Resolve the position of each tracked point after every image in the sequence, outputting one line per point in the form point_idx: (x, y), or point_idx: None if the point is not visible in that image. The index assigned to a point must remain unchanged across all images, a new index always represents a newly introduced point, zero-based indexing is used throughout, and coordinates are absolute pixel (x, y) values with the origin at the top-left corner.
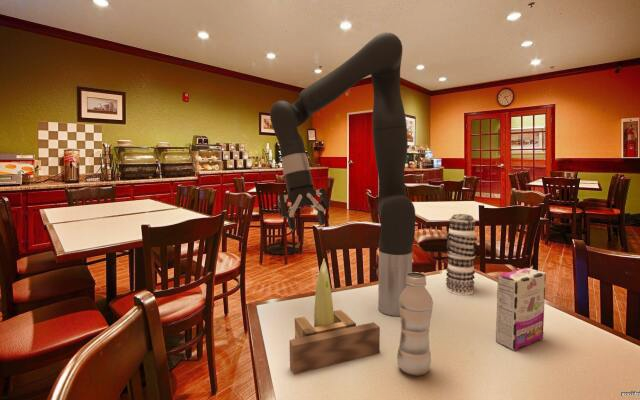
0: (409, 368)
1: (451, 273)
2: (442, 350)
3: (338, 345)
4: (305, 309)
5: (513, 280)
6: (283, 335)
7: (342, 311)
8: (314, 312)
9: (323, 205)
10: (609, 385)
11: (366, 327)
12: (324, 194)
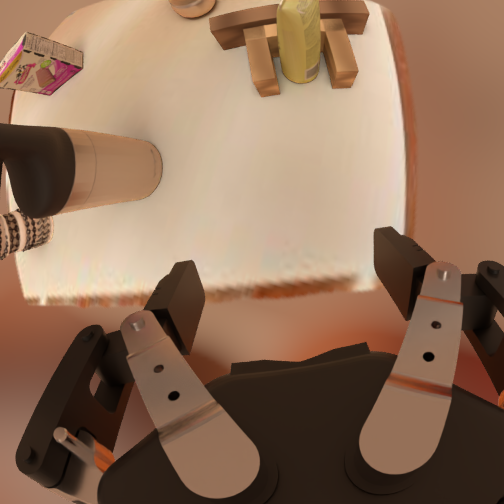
0: None
1: (29, 224)
2: (141, 44)
3: None
4: (307, 214)
5: (25, 34)
6: (368, 117)
7: (252, 73)
8: (320, 41)
9: (111, 360)
10: (71, 18)
11: (230, 17)
12: (44, 416)
